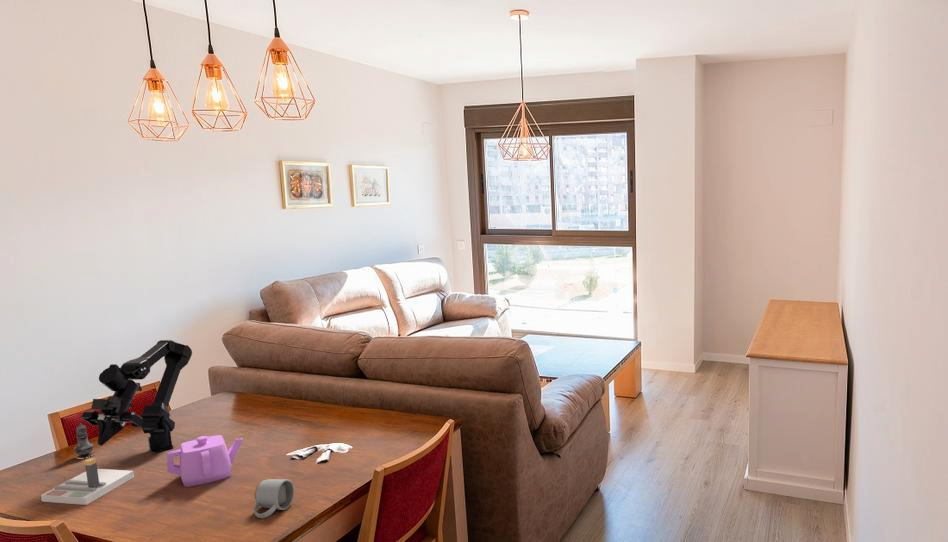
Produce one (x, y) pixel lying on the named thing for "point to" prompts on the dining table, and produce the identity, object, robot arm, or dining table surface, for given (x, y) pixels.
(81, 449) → the grey statuette
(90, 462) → the knob
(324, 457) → the cloth
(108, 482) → the switch board
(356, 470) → the dining table surface
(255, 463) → the dining table surface
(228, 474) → the teakettle
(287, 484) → the ceramic mug
